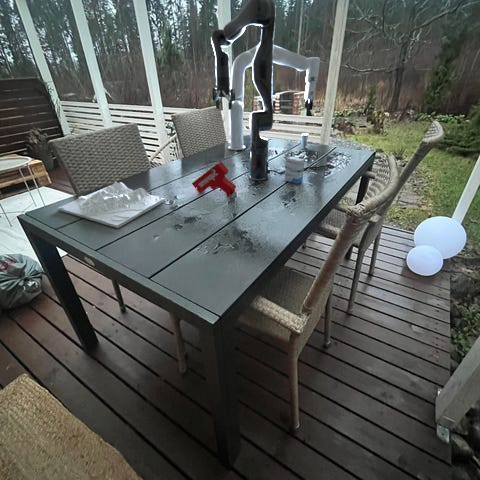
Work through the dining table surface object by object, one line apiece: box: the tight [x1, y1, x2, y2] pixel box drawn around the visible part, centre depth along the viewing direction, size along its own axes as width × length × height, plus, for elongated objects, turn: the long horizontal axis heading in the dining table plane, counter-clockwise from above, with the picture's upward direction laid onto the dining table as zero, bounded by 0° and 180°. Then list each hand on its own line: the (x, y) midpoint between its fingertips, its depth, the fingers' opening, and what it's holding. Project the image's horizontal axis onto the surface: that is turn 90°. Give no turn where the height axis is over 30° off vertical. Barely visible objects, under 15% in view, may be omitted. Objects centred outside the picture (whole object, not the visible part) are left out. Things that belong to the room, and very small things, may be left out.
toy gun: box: [191, 161, 237, 197], centre depth 128 cm, size 18×4×15 cm
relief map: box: [57, 180, 166, 229], centre depth 118 cm, size 27×35×5 cm
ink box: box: [284, 156, 306, 185], centre depth 140 cm, size 8×5×12 cm, turn 47°
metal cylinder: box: [300, 133, 309, 150], centre depth 198 cm, size 5×5×10 cm
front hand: (224, 109), depth 155 cm, fingers open, 8 cm apart
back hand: (308, 108), depth 187 cm, fingers open, 9 cm apart
